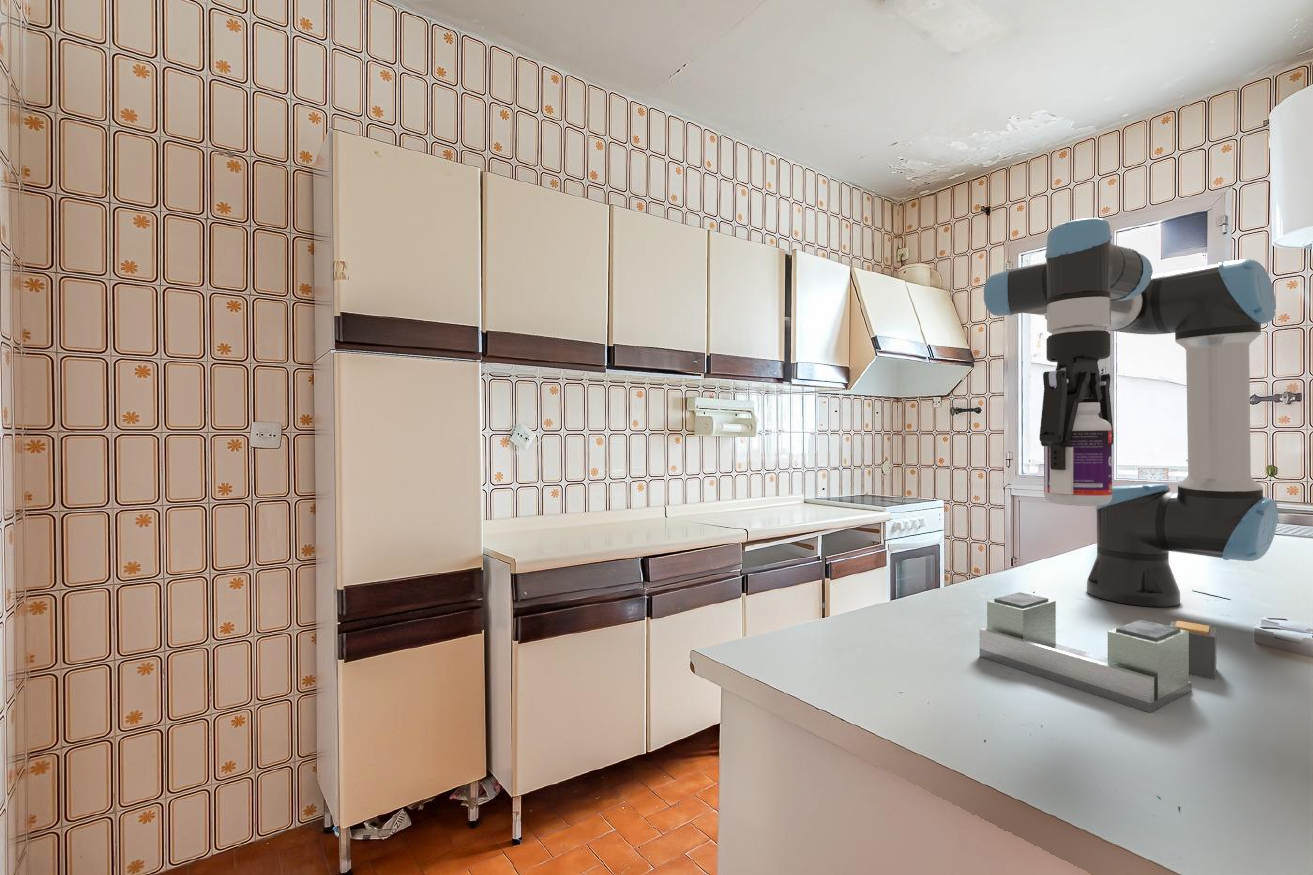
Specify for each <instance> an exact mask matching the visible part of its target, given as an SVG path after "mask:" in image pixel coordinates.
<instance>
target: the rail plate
mask: <svg viewBox="0 0 1313 875" xmlns="http://www.w3.org/2000/svg"><path fill="white" fill-rule="evenodd" d="M1056 602H1057V601H1056V600H1051V599H1049V598H1046V597H1042V596H1038V595H1034V594H1029V593H1024V592H1021V591H1020V592H1016V593H1011V594H1008V595H1007V594H1006V595H1003V596H999V597H996V598H994V599H991V600H988V601H986V628H984V627H983V628H982V627H981V628H979V629H978V630H979V631H978V632H979V633H978V634H979V657H981V658H983V659H984V658H985V659H988V660H990V661H993V662H997V663H999V664H1003V665H1006V666H1009V667H1011V668H1014V669H1017V670H1020V671H1023V672H1026V673H1030V674H1032V675H1035V676H1038V677H1041V678H1044V679H1046V680H1050V681H1053V682H1056V683H1059V684H1063V685H1066V686H1069V687H1071V688H1074V689H1078V690H1080V691H1083V692H1086V693H1089V694H1093V695H1094V696H1095V695H1096V696H1099V697H1102V698H1104V699H1107V700H1110V701H1114V702H1117V703H1119V704H1122V705H1126V706H1128V707H1131V708H1135V709H1138V710H1141V711H1144V712H1147V713H1149V714H1151V713H1152V712H1155V711H1156V710H1159V709H1160V708H1162V707H1165V706H1166V705H1168V704H1170V703H1171V702H1174V701H1175V700H1177V699H1179V698H1181V697H1183V696H1185V695H1187V694H1189V693H1191V692H1192V691H1193V687H1192V686H1193V682H1192V681H1190V680H1189V678H1190V677H1189V631H1186V630H1182V629H1180V628H1177V627H1172V626H1170V625H1168V624H1163V623H1159V622H1155V621H1154V622H1153V621H1148V620H1145V619H1138V620H1135V621H1131V622H1130V623H1127V624H1124V625H1121V626H1118V627H1116V628H1113V629H1111V630H1110V629H1109V630H1108V631H1107V657H1106V656H1105V657H1104V656H1101V655H1097V654H1094V653H1090V652H1086V651H1082V650H1080V649H1076V648H1073V647H1069V646H1066V645H1062V644H1058V643H1056V641H1057V640H1056V639H1057V638H1056V633H1057V630H1056V627H1057V626H1056V625H1057V623H1056V622H1057V621H1056V615H1057V614H1056V612H1057V610H1056V606H1057V605H1056Z"/></svg>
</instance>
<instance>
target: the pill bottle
mask: <svg viewBox="0 0 1313 875" xmlns="http://www.w3.org/2000/svg"><path fill="white" fill-rule="evenodd" d="M1098 413H1100V403H1097V402H1091V403H1079V404H1078V409H1077V413H1076V417H1075V422H1074V426H1073V430H1072V435H1071V439H1070V444H1069V446H1068V447H1073V494H1071V495H1070V494H1058V493H1050V447H1049V446H1043V461H1044V462H1043V486H1044V487H1043V492H1044V494H1043V495H1044V498H1045V499H1046V500H1047V501H1048V502H1050V503H1053V504H1058V505H1066V506H1077V507H1078V506H1080V507H1081V506H1083V507H1084V506H1085V507H1086V506H1088V507H1091V506H1092V507H1093V506H1094V507H1095V506H1096V507H1097V506H1098V505H1106V504H1108V503H1110V501H1111V500H1112V487H1113V458H1112V456H1113V452H1112V451H1113V448H1112V446H1113V444H1112V427H1111V425H1110V423H1109V422H1108V421H1106V420H1104V419H1101V418H1100V417H1099V416H1098ZM1048 433H1049V432H1048Z"/></svg>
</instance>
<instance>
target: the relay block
mask: <svg viewBox="0 0 1313 875" xmlns="http://www.w3.org/2000/svg"><path fill="white" fill-rule="evenodd" d="M1169 626H1172V627H1177V628H1180V629H1182V630H1186V631H1189V675H1191V676H1195V677H1200V678H1205V679H1209V680H1215V679H1216V673H1217V661H1218V660H1217V648H1218V646H1217V643H1218V642H1217V640H1218V639H1217V637H1218V635H1217V634H1218V633H1217V632H1218V631H1217V628H1215V627H1211V626H1210V625H1209V624H1206V625H1205V624H1200V623H1195V622H1188V621H1182V620H1176V621H1173V620H1171V621H1170V623H1169Z"/></svg>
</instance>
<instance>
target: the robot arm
mask: <svg viewBox="0 0 1313 875" xmlns="http://www.w3.org/2000/svg"><path fill="white" fill-rule="evenodd" d="M1111 240H1113V235H1112V232H1111V225H1110V222H1109V221H1108V220H1107V219H1105V218H1104V219H1103V218H1100V217H1099V218H1098V217H1090V218H1089V217H1088V218H1080V219H1075V220H1071V221H1067V222H1064V223H1061V224H1058V225H1057V226H1055V227H1053V228H1052V229H1050V230H1049V232H1048V233H1047V238H1046V250H1045V256H1044V258H1045V262H1040V263H1036V264H1035V263H1034V264H1031V265H1027V266H1022V267H1017V268H1013V269H1011V268H1008V269H1006V270H1003V271H1001V272H997V273H994V274H992V275H991V276H989V277H988V278H987V280H986V281H985V283H984V286H983V302H984V306H985V307H986V309H987V311H988V312H989V313H990V314H991V315H992V316H997V317H1002V316H1003V317H1004V316H1013V315H1016V314H1017V315H1018V314H1029V315H1037V316H1044V319H1045V320H1046V331H1047V332H1048V333H1050V335H1049V336H1047V338H1046V343H1045V344H1046V360H1047V361H1048V362H1051V363H1056V368H1055V370H1050V371H1043V373H1042V380H1043V388H1044V389H1043V394H1042V396H1043V397H1042V398H1043V399H1042V406H1041V407H1042V408H1041V409H1042V410H1041V418H1040V427H1039V441H1040V446H1042V447H1044V446H1049V447H1050V493H1058V494H1070V495H1071V494H1073V447H1068V446H1069V444H1070V439H1071V435H1072V430H1073V426H1074V422H1075V417H1076V413H1077V409H1078V404H1079V403H1091V402H1097V403H1100V413H1098V416H1099V417H1100V418H1101V419H1104V420H1106V421H1108V422H1109V423H1110V425H1111V427H1112V445H1113V444H1114V427H1113V426H1114V424H1113V416H1112V403H1111V393H1110V392H1111V391H1110V389H1111V387H1110V385H1111V374H1110V373H1100V369H1099V364H1098V362H1099V361H1100V360H1105V359H1108V358H1109V357H1110V356H1111V333H1110V332H1109V331H1111V332H1118V333H1124V334H1135V335H1165V334H1174V335H1175V337H1174V340H1175V343H1176V344H1177V345H1179V346H1180V347H1182V348H1184V350H1185V358H1186V359H1185V360H1186V361H1185V362H1186V363H1185V368H1186V369H1185V370H1186V421H1187V423H1186V424H1187V425H1186V426H1187V428H1186V429H1187V431H1186V432H1187V435H1186V436H1187V476H1186V478H1184V479H1183V480H1182V481H1180V482H1178V483H1177V492H1176V491H1171V488H1170V487H1169V485H1168V484H1167V483H1147V484H1146V483H1143V484H1129V485H1125V484H1124V485H1117V486H1116V485H1115V486H1113V485H1112V500H1111V501H1110V503H1108V504H1106V505H1098V506H1096V507H1095V510H1096V558H1095V560H1094V563H1093V564H1092V567H1091V570H1090V572H1089V575H1088V578H1087V581H1086V592H1087V593H1088V594H1090V596H1093V597H1096V598H1098V599H1102V600H1106V601H1110V602H1114V603H1115V602H1116V603H1118V604H1119V603H1120V604H1126V605H1130V606H1131V605H1132V606H1141V607H1142V606H1143V607H1154V608H1155V607H1156V608H1157V607H1159V608H1161V607H1162V608H1163V607H1164V608H1166V607H1175V606H1178V605H1180V604H1181V591H1180V588H1179V586H1178V583H1177V581H1176V577H1175V576H1174V574H1173V570H1172V568H1171V566H1170V561H1169V560H1170V559H1169V553H1170V552H1173V553H1182V554H1188V555H1189V554H1190V555H1196V556H1203V557H1204V556H1205V557H1211V558H1219V559H1222V560H1224V561H1229V560H1235V561H1243V562H1244V561H1245V562H1254V561H1258V560H1260V559H1262V558H1263V557H1264V556H1265V555H1266V554H1267V552H1268V551H1269V549H1270V547H1271V545H1272V543H1273V540H1274V538H1275V534H1276V531H1277V526H1278V519H1279V510H1278V504H1277V502H1276V501H1275V500H1274V499H1273V498H1269V497H1268V496H1264V489H1263V488H1264V487H1263V486H1262V485H1261V484H1260V483H1258V482H1257V481H1256V480H1254V478H1252V475H1251V473H1252V471H1251V468H1252V467H1251V464H1252V463H1251V462H1252V461H1251V395H1250V394H1251V393H1250V392H1251V385H1250V383H1251V382H1250V381H1251V380H1250V379H1251V378H1250V377H1251V376H1250V372H1251V371H1250V345H1251V344H1252V342H1254V341H1255V340H1256V339H1257V338H1259V336H1261V334H1262V327H1261V326H1262V325H1265V324H1268V323H1269V322H1271V321H1273V320H1274V319H1275V316H1276V311H1275V310H1276V308H1277V303H1276V301H1277V300H1276V295H1275V289H1274V286H1273V284H1272V280H1271V278H1270V276H1269V273H1268V272H1267V270H1266V269H1265V267H1264V266H1263V265H1262V264H1261V263H1260V262H1258V261H1257V260H1255V259H1251V258H1249V259H1248V258H1247V259H1245V258H1244V259H1237V260H1229V261H1228V260H1227V261H1220V262H1215V263H1210V264H1206V265H1200V266H1196V267H1191V268H1184V269H1180V270H1175V271H1170V272H1165V273H1158V274H1153V267H1152V263H1151V261H1150V259H1148V258H1147V257H1146V256H1145V255H1143V254H1142V253H1140V252H1138V251H1137V250H1135V249H1132V248H1128V247H1124V246H1121V245H1120V246H1119V245H1116V244H1113V243H1112V242H1111ZM1048 432H1049V433H1048Z"/></svg>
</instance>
